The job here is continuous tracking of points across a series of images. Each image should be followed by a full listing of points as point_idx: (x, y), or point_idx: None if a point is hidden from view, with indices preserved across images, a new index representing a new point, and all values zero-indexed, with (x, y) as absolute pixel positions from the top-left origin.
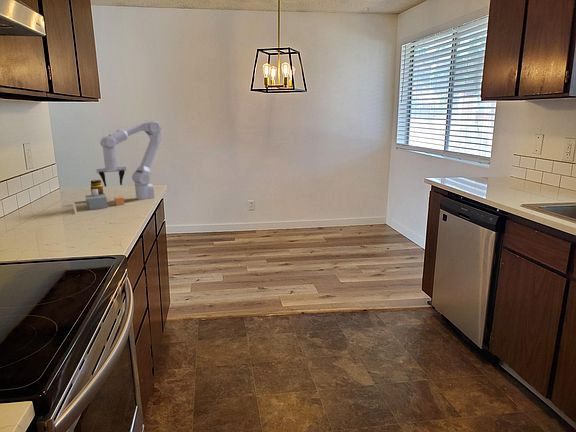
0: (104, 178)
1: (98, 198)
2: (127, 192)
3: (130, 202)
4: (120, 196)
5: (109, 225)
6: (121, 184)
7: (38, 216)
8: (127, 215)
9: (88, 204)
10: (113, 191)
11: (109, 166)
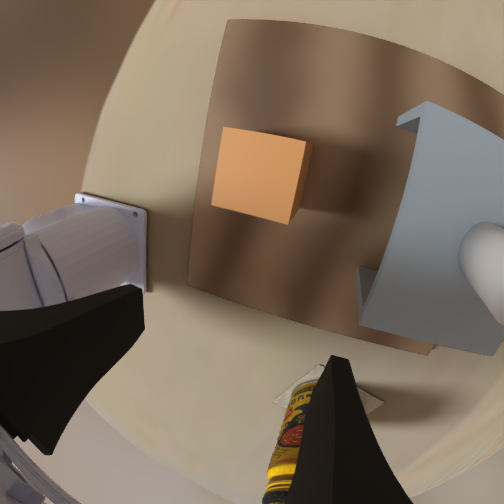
0: (349, 469)
1: (494, 137)
2: (162, 425)
3: (180, 243)
4: (229, 208)
5: None
6: (127, 286)
7: None
8: None
9: None
10: (201, 461)
11: None
